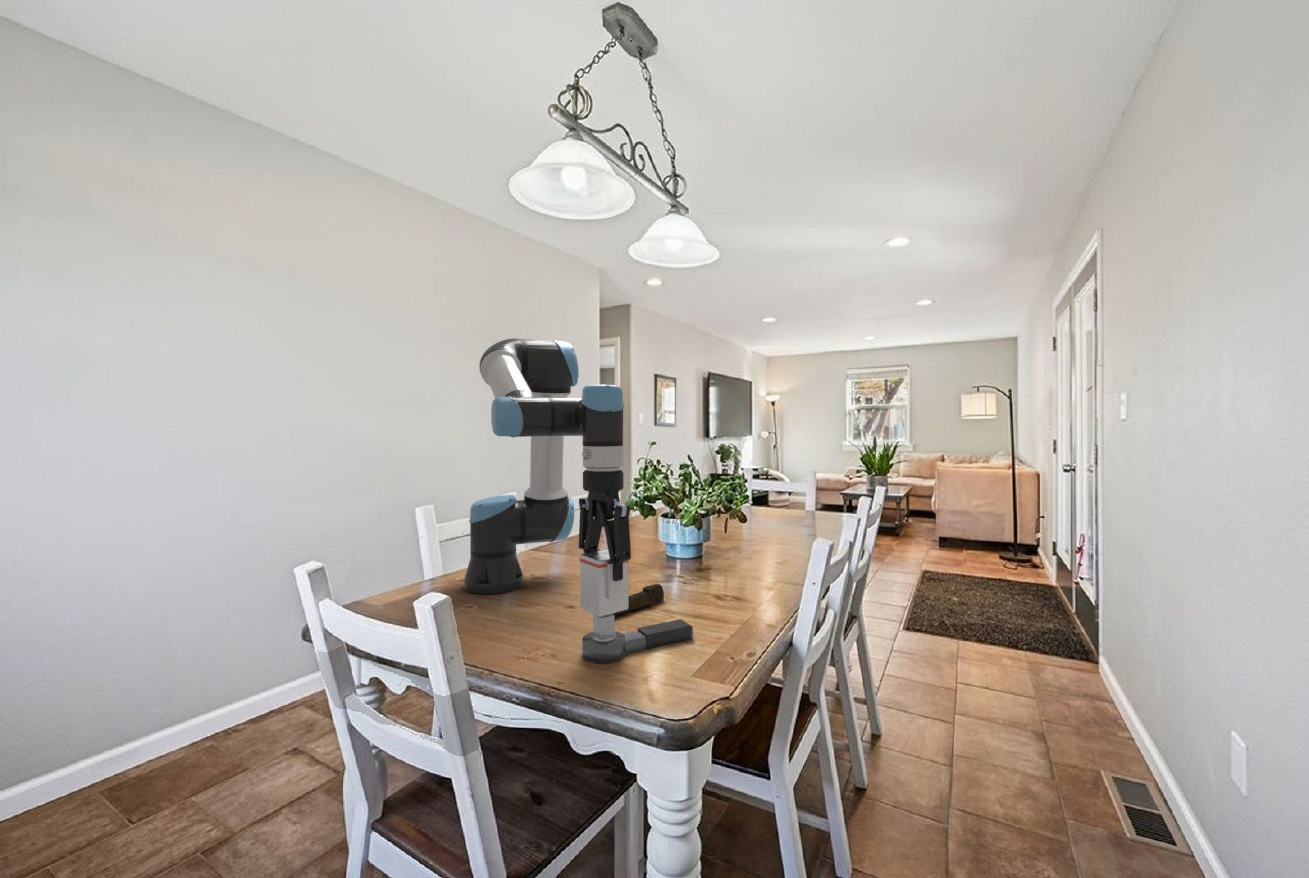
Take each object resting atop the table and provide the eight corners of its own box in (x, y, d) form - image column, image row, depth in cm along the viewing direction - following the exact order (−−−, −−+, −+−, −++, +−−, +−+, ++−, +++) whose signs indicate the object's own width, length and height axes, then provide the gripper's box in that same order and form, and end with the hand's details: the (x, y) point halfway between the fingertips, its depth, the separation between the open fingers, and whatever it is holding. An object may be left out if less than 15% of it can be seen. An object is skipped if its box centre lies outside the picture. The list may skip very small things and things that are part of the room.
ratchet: (592, 666, 98) (591, 625, 98) (576, 650, 105) (575, 611, 105) (698, 642, 109) (699, 604, 109) (677, 628, 116) (677, 593, 116)
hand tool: (607, 623, 120) (607, 602, 120) (596, 618, 123) (597, 597, 123) (671, 604, 132) (671, 585, 132) (659, 600, 135) (660, 581, 135)
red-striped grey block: (580, 607, 104) (579, 554, 103) (609, 600, 108) (608, 549, 107) (599, 616, 99) (598, 561, 98) (628, 609, 103) (628, 555, 102)
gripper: (559, 466, 108) (560, 584, 108) (616, 473, 92) (617, 610, 93) (592, 464, 112) (592, 577, 113) (651, 471, 97) (652, 601, 98)
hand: (603, 592), depth 103 cm, fingers closed on red-striped grey block, 6 cm apart
